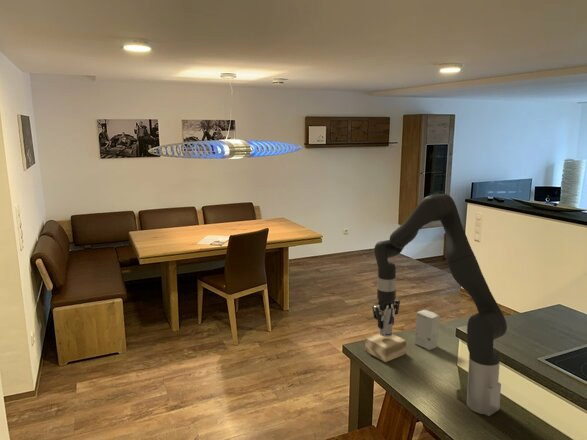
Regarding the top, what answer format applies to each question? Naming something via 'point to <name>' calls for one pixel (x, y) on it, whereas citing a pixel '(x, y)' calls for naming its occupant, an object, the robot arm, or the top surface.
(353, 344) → the top surface
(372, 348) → the birch block
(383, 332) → the energy drink
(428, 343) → the skincare box
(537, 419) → the top surface
